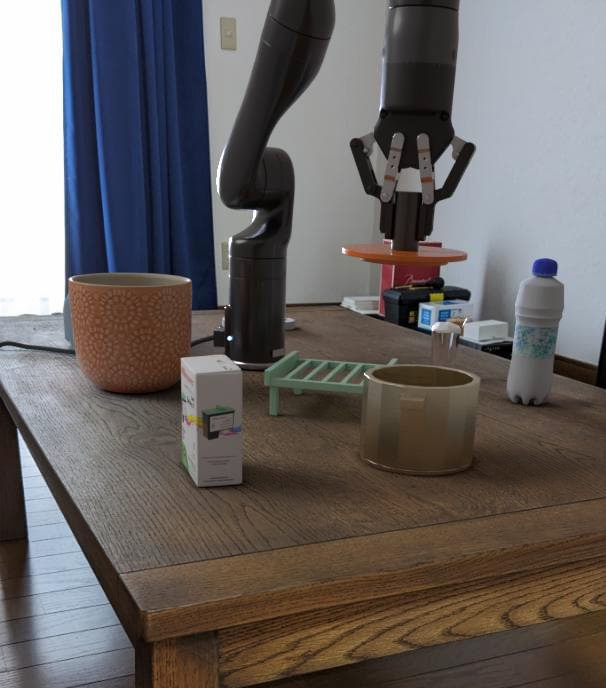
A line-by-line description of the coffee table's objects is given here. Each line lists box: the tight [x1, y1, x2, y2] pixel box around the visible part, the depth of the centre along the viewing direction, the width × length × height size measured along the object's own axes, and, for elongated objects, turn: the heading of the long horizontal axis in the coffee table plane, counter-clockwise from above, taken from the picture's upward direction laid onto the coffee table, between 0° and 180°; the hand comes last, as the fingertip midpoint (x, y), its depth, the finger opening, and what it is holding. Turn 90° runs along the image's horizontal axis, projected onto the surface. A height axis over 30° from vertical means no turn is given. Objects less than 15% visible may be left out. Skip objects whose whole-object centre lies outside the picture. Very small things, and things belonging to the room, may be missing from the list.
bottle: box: [506, 257, 565, 406], centre depth 127 cm, size 7×7×20 cm
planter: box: [67, 272, 193, 394], centre depth 128 cm, size 17×17×15 cm
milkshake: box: [430, 317, 469, 369], centre depth 140 cm, size 5×5×10 cm
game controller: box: [221, 316, 296, 331], centre depth 182 cm, size 15×13×2 cm
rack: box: [263, 350, 399, 417], centre depth 122 cm, size 15×15×6 cm
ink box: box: [180, 354, 243, 488], centre depth 92 cm, size 8×5×12 cm, turn 17°
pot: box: [359, 363, 482, 477], centre depth 100 cm, size 13×18×10 cm
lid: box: [341, 190, 469, 267], centre depth 98 cm, size 14×14×7 cm
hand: (405, 239), depth 98 cm, fingers closed on lid, 3 cm apart
